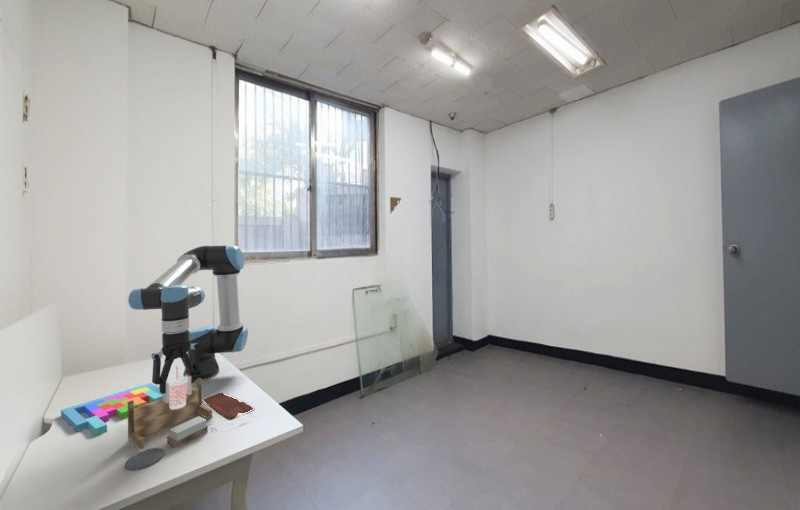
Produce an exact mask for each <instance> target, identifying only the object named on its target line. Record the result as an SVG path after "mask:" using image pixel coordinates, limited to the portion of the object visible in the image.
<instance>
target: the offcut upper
mask: <svg viewBox="0 0 800 510" xmlns="http://www.w3.org/2000/svg"><path fill="white" fill-rule="evenodd" d="M207 421H208V419H207V418H205V417H201V416H196V417H194V418H192V419H189V420H187V421H185V422H183V423H180V424H178V425H176V426H174V427H172V428H170V429H169V436H170V437H171V438H173V439H175V440H176V441H179V440H181V439H183V438H185V437H187V436H189V435H191V434H193V433H195V432H197V431H199V430H201V429H203V428H205V427H207V426H208V425H207V423H208V422H207Z"/></svg>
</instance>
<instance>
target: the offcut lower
mask: <svg viewBox="0 0 800 510" xmlns="http://www.w3.org/2000/svg"><path fill="white" fill-rule="evenodd" d="M208 430H209V428H208V425H207V427H205V428H203V429H201V430H199V431H197V432H195V433H193V434H191V435H189V436H187V437H185V438H183V439H181V440H179V441H176V440H175V439H173V438H171V437H170V435H169V436H167V437H166V444H167V445H169V446H171V448H174V449H177V448H178V447H180V446H183V445H184V444H186V443H189V442H191V441H192V440H195V439H197V438H199V437H200V436H203V435H204V434H205V435H206V434H207V433H208V432H209V431H208Z"/></svg>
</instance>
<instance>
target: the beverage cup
mask: <svg viewBox="0 0 800 510" xmlns="http://www.w3.org/2000/svg"><path fill="white" fill-rule="evenodd" d="M175 374H176V377H172V378H169V379H167V381H166V382H167V383H169V406H170V409H179V408H182V407H184V406H185V405H186V394H187V381H188V377H183V376H179V367H178V365H175Z"/></svg>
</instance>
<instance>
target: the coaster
mask: <svg viewBox="0 0 800 510" xmlns="http://www.w3.org/2000/svg"><path fill="white" fill-rule="evenodd" d="M164 455H165V450H164V449H162V448H160V447H158V448H157V447H156V448H155V447H154V448H149V449H144V450H142V451H139V452H137V453H135V454H133V455H132V456H130V457H129V458H128V459H127V460H126V461H125V463H124V468H125V470H127V471H138V470H143V469H146V468H149V467H151V466H153V465H155V464H156V463H158V462H159V461H160V460H162V458H164Z"/></svg>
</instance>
